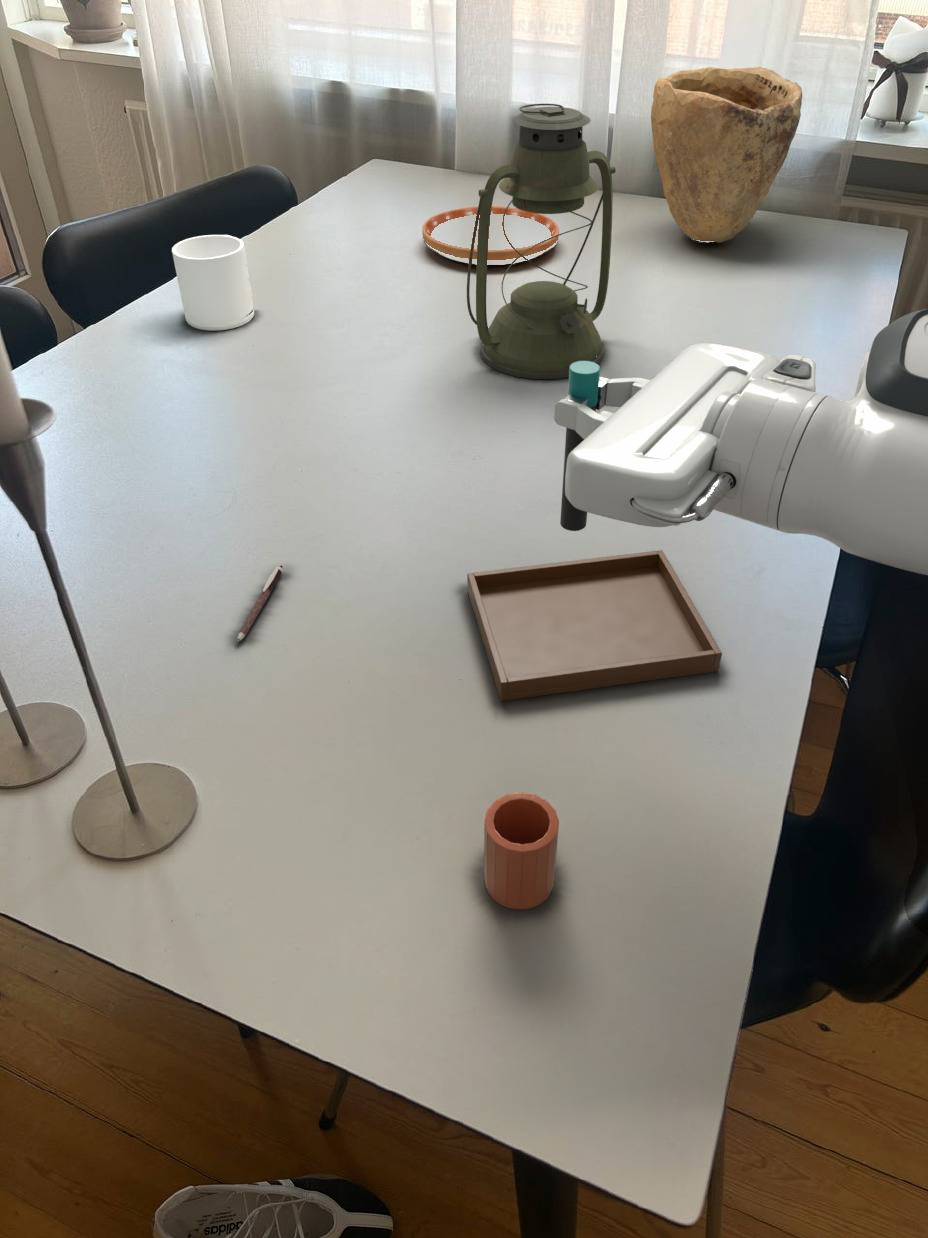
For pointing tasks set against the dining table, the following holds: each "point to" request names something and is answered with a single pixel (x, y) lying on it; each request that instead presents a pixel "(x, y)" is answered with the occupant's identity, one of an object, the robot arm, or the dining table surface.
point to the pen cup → (520, 850)
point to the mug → (213, 281)
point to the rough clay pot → (721, 144)
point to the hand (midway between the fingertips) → (571, 397)
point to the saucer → (492, 254)
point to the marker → (585, 386)
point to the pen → (260, 602)
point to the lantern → (545, 184)
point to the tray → (588, 625)
